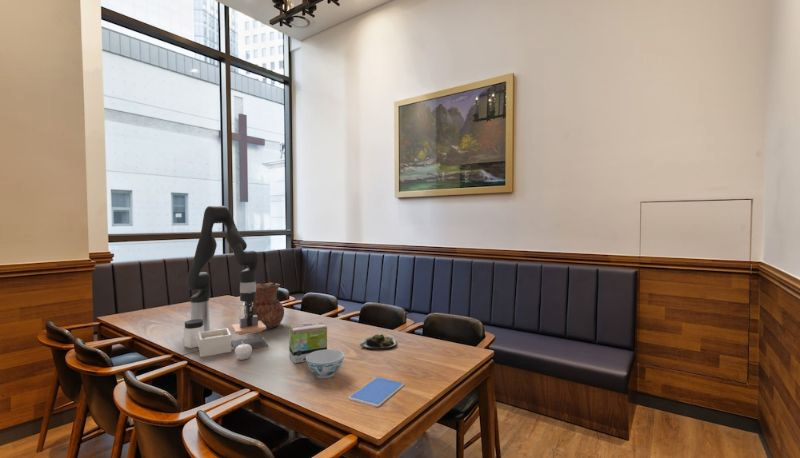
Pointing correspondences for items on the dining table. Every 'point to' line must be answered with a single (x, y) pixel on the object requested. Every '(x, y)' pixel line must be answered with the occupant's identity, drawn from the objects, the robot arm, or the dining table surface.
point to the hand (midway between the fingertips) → (248, 324)
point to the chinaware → (325, 362)
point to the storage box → (214, 342)
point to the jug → (268, 305)
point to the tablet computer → (376, 391)
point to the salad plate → (378, 343)
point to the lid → (244, 329)
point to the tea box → (306, 340)
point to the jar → (192, 332)
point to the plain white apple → (243, 351)
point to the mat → (251, 342)
